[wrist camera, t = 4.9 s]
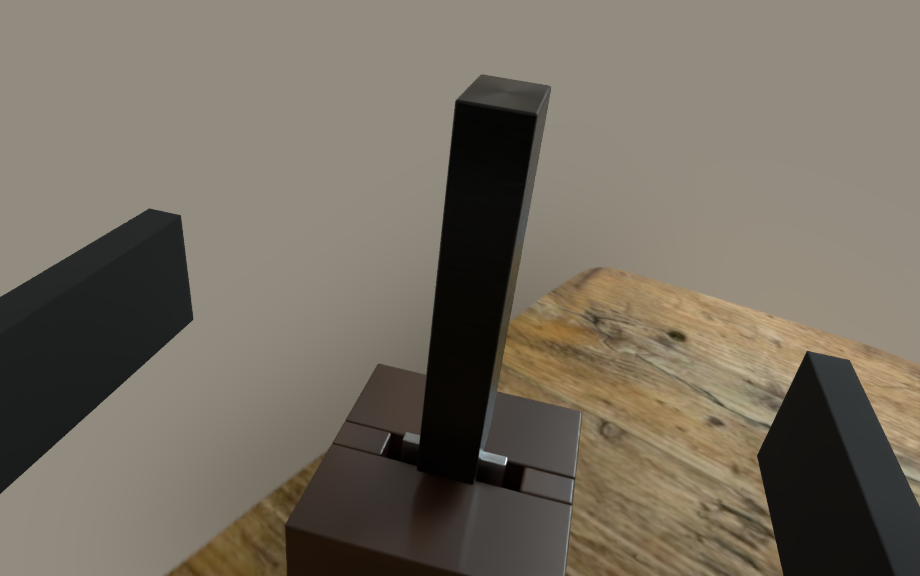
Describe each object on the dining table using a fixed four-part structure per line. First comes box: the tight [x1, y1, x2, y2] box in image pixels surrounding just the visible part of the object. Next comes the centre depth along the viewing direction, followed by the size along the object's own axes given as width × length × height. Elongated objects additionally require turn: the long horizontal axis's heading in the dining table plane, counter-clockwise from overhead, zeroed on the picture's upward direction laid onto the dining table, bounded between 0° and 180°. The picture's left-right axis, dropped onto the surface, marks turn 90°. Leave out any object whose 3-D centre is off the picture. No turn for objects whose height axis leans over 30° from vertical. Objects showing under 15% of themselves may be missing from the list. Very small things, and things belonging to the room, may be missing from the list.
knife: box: [401, 75, 551, 488], centre depth 18 cm, size 3×2×20 cm
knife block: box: [285, 364, 582, 576], centre depth 21 cm, size 7×7×9 cm
